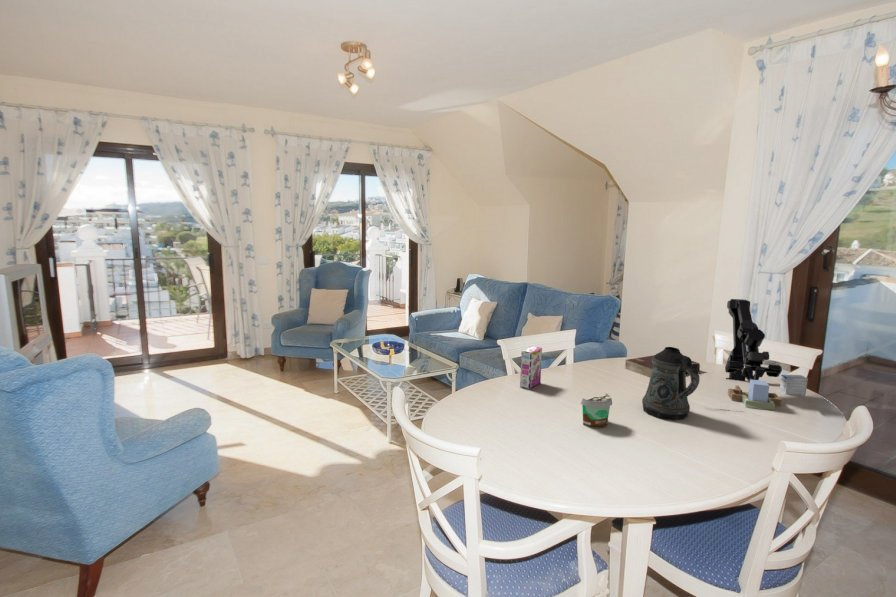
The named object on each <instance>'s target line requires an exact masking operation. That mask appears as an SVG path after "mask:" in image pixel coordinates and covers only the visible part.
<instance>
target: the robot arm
mask: <svg viewBox="0 0 896 597" xmlns="http://www.w3.org/2000/svg"><path fill="white" fill-rule="evenodd" d="M726 303H727V304H726V308H727V309H728V314H729V315H730V316H731V318H732V331H733V334H732V335H733V349H731V351H730V353H729V355H728V357H727V359H726V365H725V366H724V370H725V372H726V373H728V375H729V376H728V377H725V380H729V381H739V382H741V381H742V382H746V379H747V382H749V383H750V379H751V380H760V378H763V376H764V375H767V376H768V377H771V378H778V377H779V376H781V375H780V374H781V373H782V371H783V367H782V366H781V365H780V364H773V363H769V364H768V366H767V367H766V366H763V364H764V363H763V362H765V361H769V360H770V352H769V351H766V350H764V351H762V352H760V350H759V347H760V346H761V345H762V343H763V341H764V339H765V337H766V335H765V333H764V331H762V330H761V329H760V328H759V327H758V325H757V324H756V323H755V322H753V319H752V318H753V317H752V314H751V300H747V299H742V298H741V299H738V298H731V299H730V300H728V301H727V302H726ZM725 372H724V373H725ZM765 373H766V374H765Z"/></svg>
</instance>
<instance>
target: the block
mask: <svg viewBox="0 0 896 597" xmlns="http://www.w3.org/2000/svg"><path fill="white" fill-rule="evenodd" d="M748 386H749V387H748V392H749V394H748V399H749V400H752V401H761V402H768V393H770V392H769V391H770V384H768V382H766V380H761V379H759V380H751V379H750V382H749V385H748Z"/></svg>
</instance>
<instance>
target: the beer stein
mask: <svg viewBox="0 0 896 597" xmlns="http://www.w3.org/2000/svg"><path fill="white" fill-rule="evenodd" d="M652 356H653V355H652ZM692 361H693V360H692V359H691V357H689V356H687V355H684V354H682V353H681V351H680V349H679V348H678V347H673V346H666V347H664V348H663V350H661V351H659V352H658V353H655V354H654V356H653V357H652V363H653V369H652V373H651V377H649V382H648V386H647V389H646V392H645V395H644V396H643V398H642V401H641V404H642V409H643V412H644V413H645V414H647V415H649V416H651V417H654V418H657V419H662V420H665V421H667V420H668V421H679V420H681V421H682V420H685V419H687V418H688V416H689V413H690V409H691V408H690V407H691V406H690V403H689V399H688V397H689V396H690V395H692V394H693V393H694V392H695V390H697V388H698V387H699V384H700V381H701V380H700V379H701V378H700V374H699V372H698V370H697V369H696V368H695V367H694V366H692V365H691V364H692ZM685 372H687V373H688V374H687V375H689V377H690V383H689V384H688V386H687V379H686V374H685Z"/></svg>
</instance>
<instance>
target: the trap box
mask: <svg viewBox="0 0 896 597" xmlns="http://www.w3.org/2000/svg"><path fill="white" fill-rule="evenodd" d="M748 394H749V391H747V392H746V391H743V390H742V388H741V387H740V385H734V388H728V391H727V395H728V397H729V399H730V401H731V402H739V403H742V405H743V406H744V407H745V408H750V409H759V410H766V411H767V410H768V411H775V408H776V406H777V407H781V403H782V399H781V398H780V397H779V396H778V394H776V393H775V392H773V393H772V392H769V393H768V402H761V401H752V400H749V399H748Z"/></svg>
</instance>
